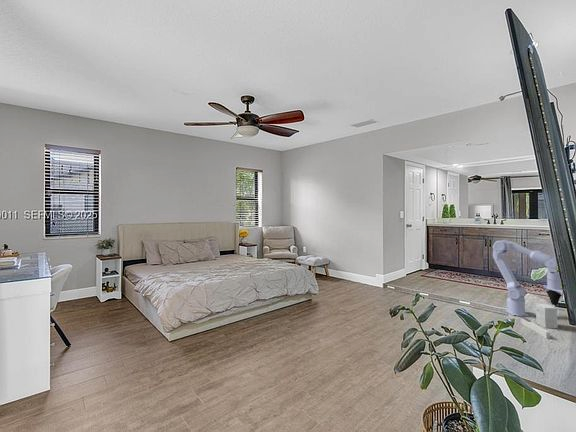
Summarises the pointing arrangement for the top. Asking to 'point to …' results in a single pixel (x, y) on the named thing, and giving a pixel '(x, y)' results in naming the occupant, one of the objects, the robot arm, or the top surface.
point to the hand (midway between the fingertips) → (554, 304)
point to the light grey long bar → (535, 327)
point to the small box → (546, 315)
